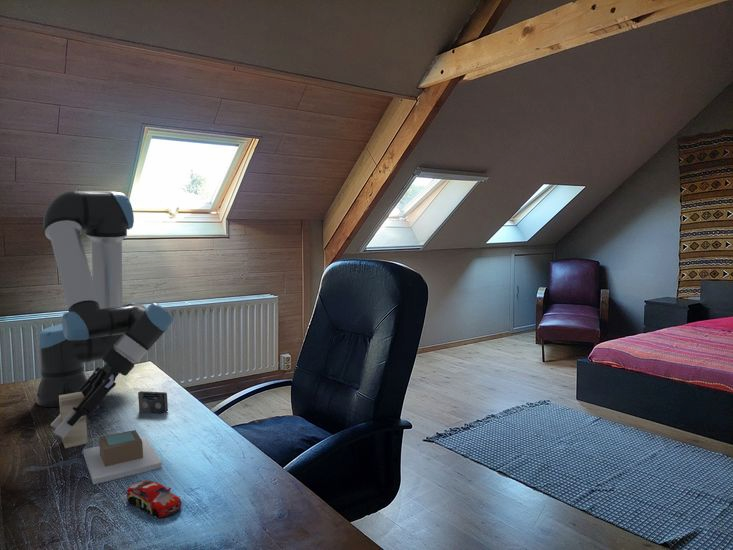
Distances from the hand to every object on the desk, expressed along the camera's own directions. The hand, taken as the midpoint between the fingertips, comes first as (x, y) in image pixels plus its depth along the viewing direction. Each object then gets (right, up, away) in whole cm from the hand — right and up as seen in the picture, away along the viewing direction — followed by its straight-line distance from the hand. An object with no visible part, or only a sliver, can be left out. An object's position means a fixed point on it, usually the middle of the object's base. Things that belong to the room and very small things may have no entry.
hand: (57, 431), depth 135 cm
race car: (+35, -7, -28) cm, 45 cm away
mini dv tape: (+15, -2, +24) cm, 28 cm away
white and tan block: (+20, -5, -8) cm, 22 cm away
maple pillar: (+3, -4, +3) cm, 5 cm away
